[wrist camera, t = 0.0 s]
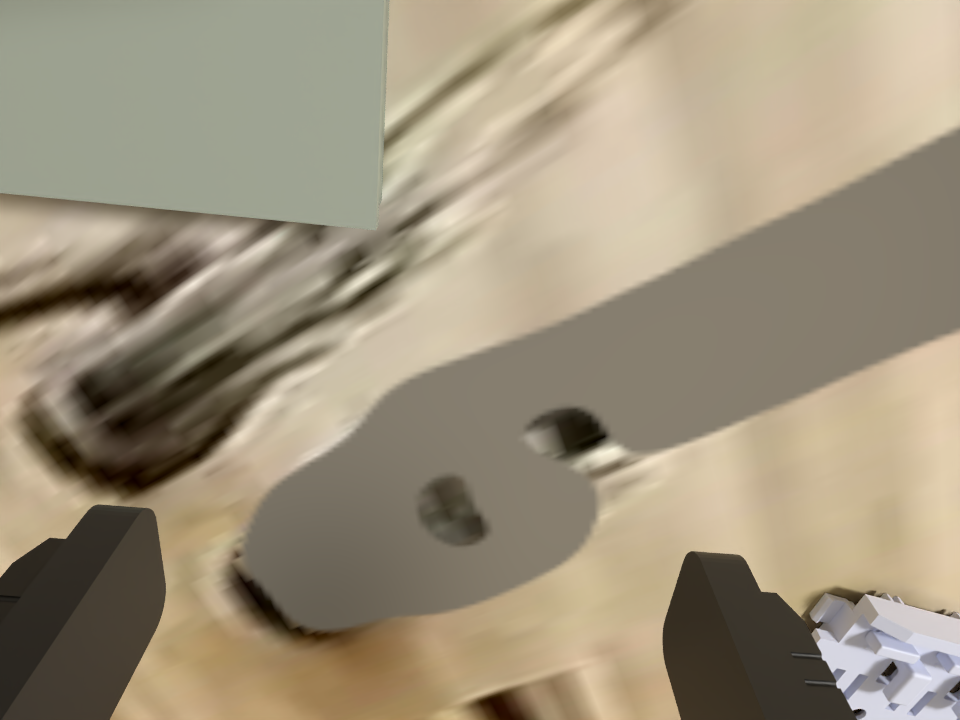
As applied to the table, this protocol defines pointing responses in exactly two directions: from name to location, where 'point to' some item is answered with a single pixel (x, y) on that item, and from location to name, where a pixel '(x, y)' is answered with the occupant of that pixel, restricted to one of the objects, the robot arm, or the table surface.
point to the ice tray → (891, 657)
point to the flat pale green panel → (198, 105)
